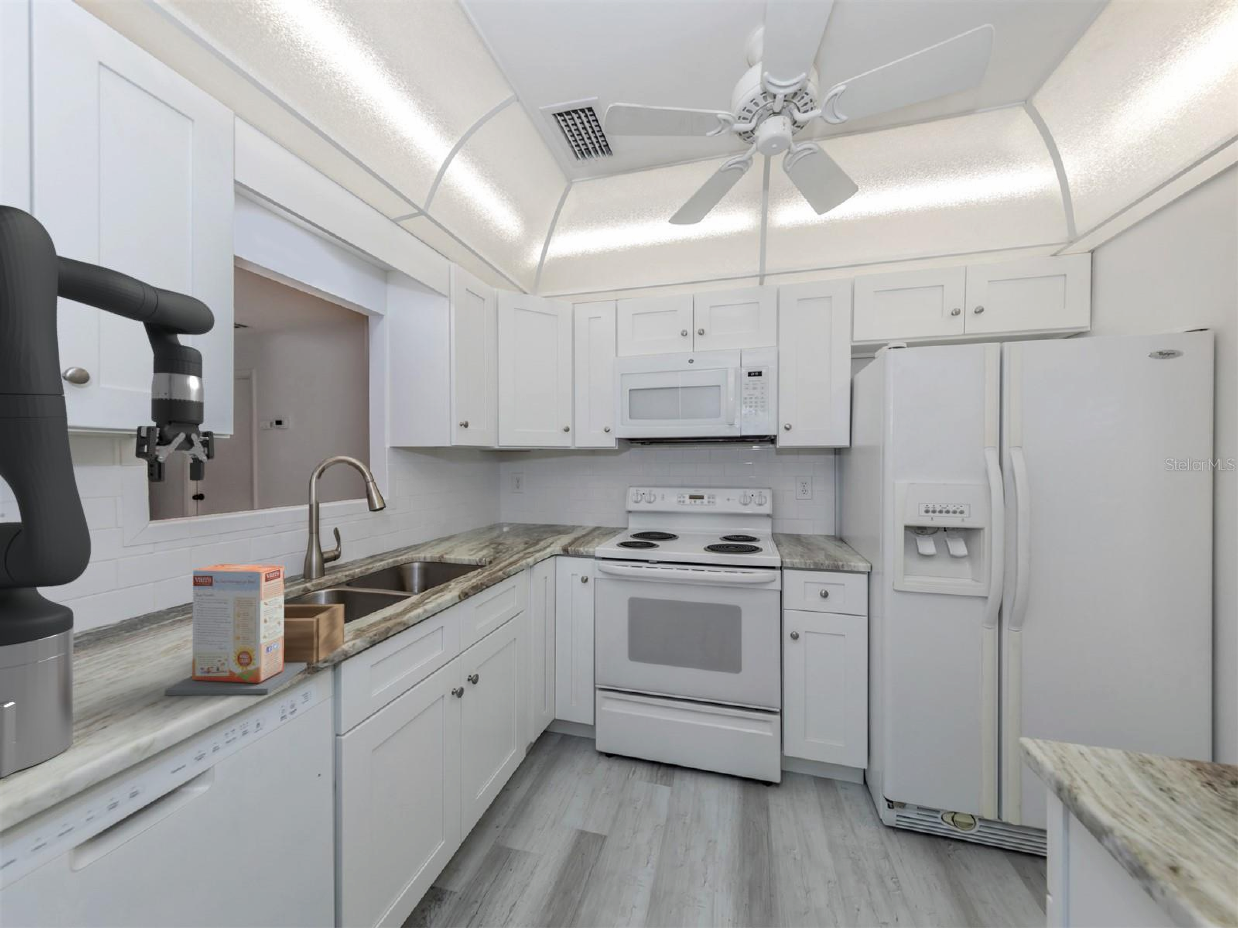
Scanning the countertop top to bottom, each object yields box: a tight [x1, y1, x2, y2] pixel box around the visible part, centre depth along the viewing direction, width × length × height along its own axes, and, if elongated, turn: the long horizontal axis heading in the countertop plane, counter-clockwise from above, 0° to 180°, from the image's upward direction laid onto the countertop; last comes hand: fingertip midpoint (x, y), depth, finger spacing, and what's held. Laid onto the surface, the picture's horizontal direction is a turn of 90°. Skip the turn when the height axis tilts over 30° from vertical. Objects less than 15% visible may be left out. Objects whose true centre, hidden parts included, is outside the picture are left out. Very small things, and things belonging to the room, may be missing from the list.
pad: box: [164, 663, 308, 696], centre depth 89 cm, size 11×18×1 cm, turn 92°
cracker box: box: [191, 564, 285, 683], centre depth 89 cm, size 14×6×21 cm, turn 84°
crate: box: [284, 603, 345, 665], centre depth 102 cm, size 11×19×9 cm, turn 92°
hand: (177, 481), depth 92 cm, fingers open, 8 cm apart
